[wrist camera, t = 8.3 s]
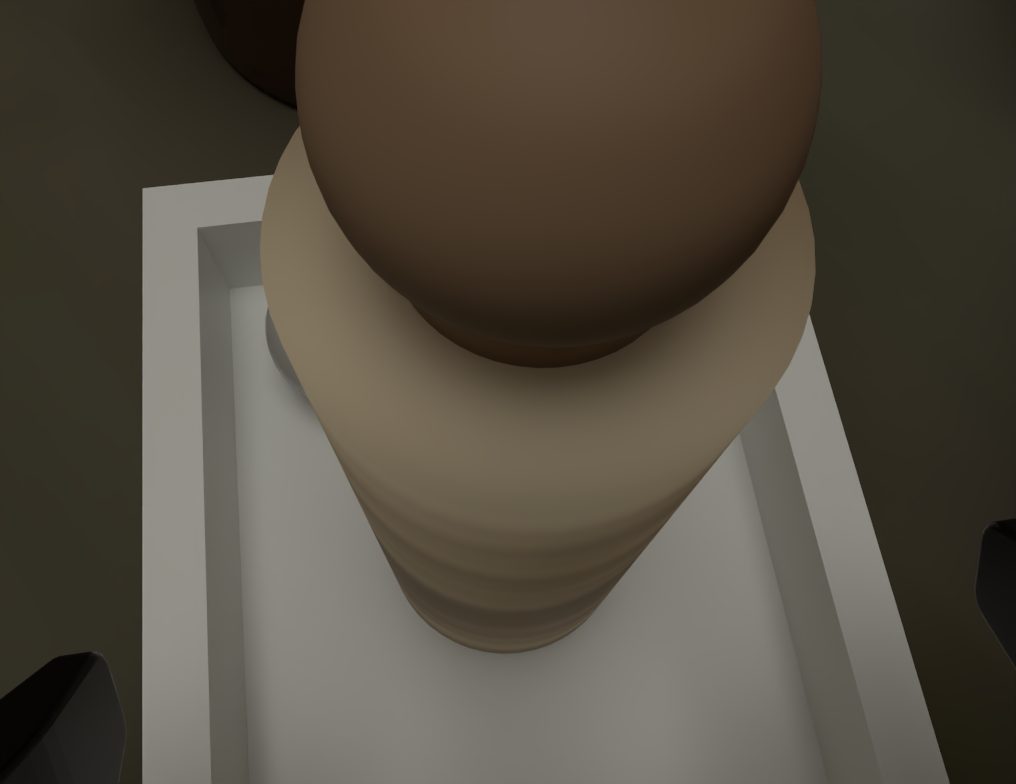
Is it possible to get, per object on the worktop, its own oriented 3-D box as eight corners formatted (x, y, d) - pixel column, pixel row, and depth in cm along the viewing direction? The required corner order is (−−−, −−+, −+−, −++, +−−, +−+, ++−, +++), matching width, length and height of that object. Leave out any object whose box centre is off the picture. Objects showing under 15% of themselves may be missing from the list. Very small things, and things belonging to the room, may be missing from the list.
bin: (898, 883, 16) (987, 909, 13) (204, 1005, 15) (141, 1061, 12) (716, 208, 21) (752, 124, 18) (189, 267, 20) (142, 188, 17)
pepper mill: (586, 685, 16) (1007, 419, 3) (357, 612, 17) (-91, 112, 4) (642, 462, 18) (1083, -320, 5) (432, 400, 18) (309, -484, 5)
